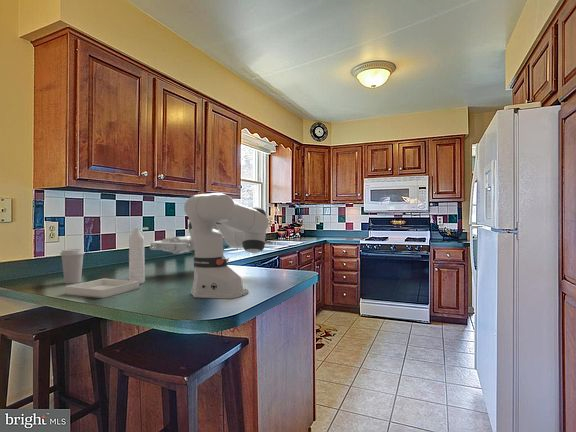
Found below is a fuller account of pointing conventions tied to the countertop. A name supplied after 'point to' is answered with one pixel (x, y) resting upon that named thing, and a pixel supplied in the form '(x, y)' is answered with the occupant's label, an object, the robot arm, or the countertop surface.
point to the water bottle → (136, 256)
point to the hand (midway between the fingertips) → (158, 247)
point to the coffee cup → (72, 265)
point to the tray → (101, 288)
